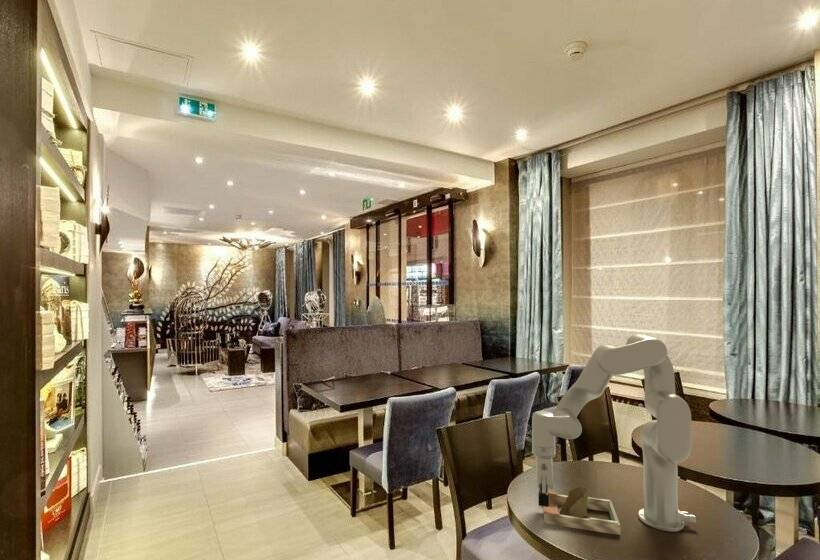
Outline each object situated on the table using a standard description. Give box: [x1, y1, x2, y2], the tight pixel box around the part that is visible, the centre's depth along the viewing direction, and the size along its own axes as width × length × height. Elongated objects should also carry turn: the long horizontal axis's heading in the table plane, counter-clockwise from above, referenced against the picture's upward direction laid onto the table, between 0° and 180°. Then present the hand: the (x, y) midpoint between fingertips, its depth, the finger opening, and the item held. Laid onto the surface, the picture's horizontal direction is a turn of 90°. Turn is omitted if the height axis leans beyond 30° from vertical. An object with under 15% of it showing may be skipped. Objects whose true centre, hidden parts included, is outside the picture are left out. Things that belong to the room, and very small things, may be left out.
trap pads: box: [542, 491, 559, 516], centre depth 141 cm, size 5×15×4 cm, turn 164°
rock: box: [558, 486, 589, 518], centre depth 139 cm, size 11×9×10 cm
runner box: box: [543, 493, 621, 536], centre depth 138 cm, size 22×15×4 cm
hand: (543, 505), depth 141 cm, fingers closed
